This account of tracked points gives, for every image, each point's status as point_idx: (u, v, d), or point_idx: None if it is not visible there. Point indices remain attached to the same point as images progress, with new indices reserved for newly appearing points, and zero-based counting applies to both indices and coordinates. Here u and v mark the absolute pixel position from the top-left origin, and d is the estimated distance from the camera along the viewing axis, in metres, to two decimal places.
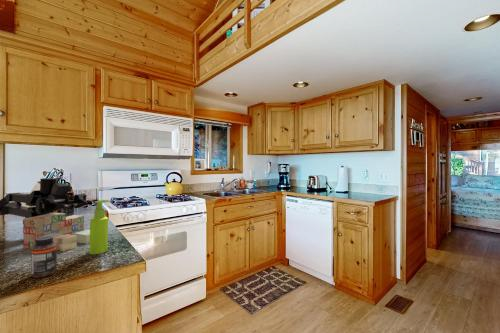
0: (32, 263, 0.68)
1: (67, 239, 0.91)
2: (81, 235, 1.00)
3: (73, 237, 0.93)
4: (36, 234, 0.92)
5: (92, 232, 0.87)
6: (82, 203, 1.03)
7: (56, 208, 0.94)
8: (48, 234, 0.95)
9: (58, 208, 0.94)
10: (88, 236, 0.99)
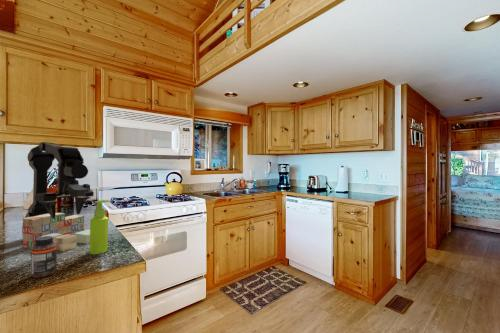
0: (32, 263, 0.68)
1: (67, 239, 0.91)
2: (81, 235, 1.00)
3: (73, 237, 0.93)
4: (34, 234, 0.92)
5: (92, 232, 0.87)
6: (78, 206, 0.97)
7: (48, 210, 0.88)
8: (48, 234, 0.95)
9: (49, 212, 0.88)
10: (88, 236, 0.99)
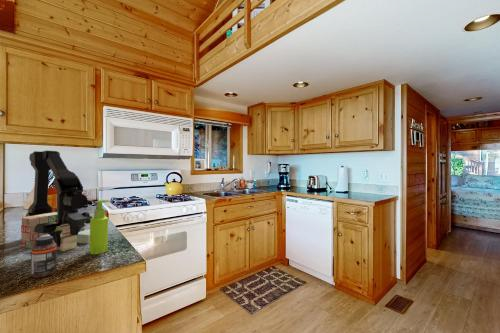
0: (32, 263, 0.68)
1: (67, 239, 0.91)
2: (82, 235, 1.00)
3: (73, 237, 0.93)
4: (31, 233, 0.92)
5: (92, 232, 0.87)
6: None
7: (53, 239, 0.89)
8: (48, 234, 0.95)
9: (54, 241, 0.90)
10: (89, 236, 1.00)
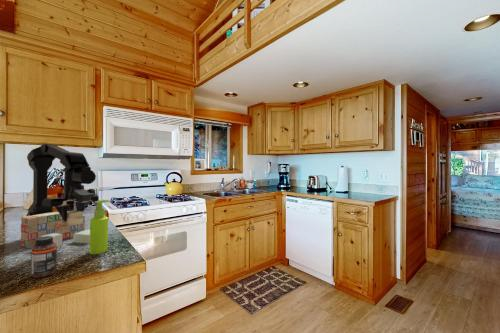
0: (32, 263, 0.68)
1: (73, 214, 0.94)
2: (82, 235, 1.00)
3: (79, 213, 0.96)
4: (29, 233, 0.93)
5: (92, 232, 0.87)
6: None
7: (60, 214, 0.92)
8: (48, 234, 0.95)
9: (61, 216, 0.92)
10: None
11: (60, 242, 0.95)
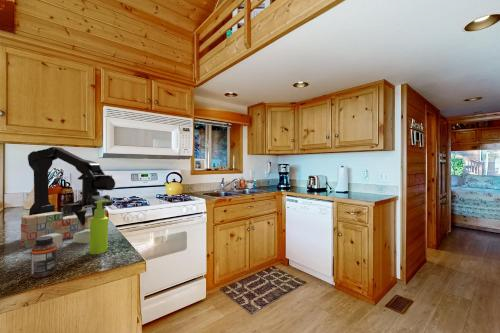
0: (32, 263, 0.68)
1: None
2: (82, 235, 1.00)
3: None
4: (28, 232, 0.93)
5: (92, 232, 0.87)
6: None
7: (79, 218, 1.01)
8: (48, 234, 0.95)
9: (80, 220, 1.01)
10: None
11: (60, 242, 0.95)
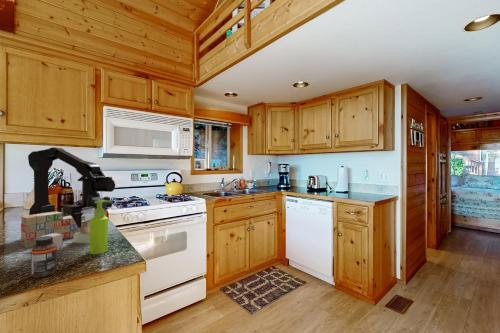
0: (32, 263, 0.68)
1: None
2: (83, 235, 1.00)
3: None
4: (28, 232, 0.94)
5: (92, 232, 0.87)
6: None
7: (75, 221, 0.99)
8: (48, 234, 0.95)
9: (76, 222, 0.99)
10: None
11: (60, 242, 0.95)
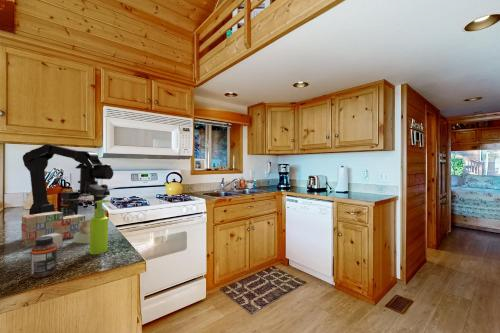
0: (32, 263, 0.68)
1: None
2: (83, 235, 1.00)
3: None
4: (28, 232, 0.94)
5: (92, 232, 0.87)
6: (96, 204, 1.10)
7: (72, 207, 1.00)
8: (48, 234, 0.95)
9: (73, 209, 1.00)
10: None
11: (60, 242, 0.95)
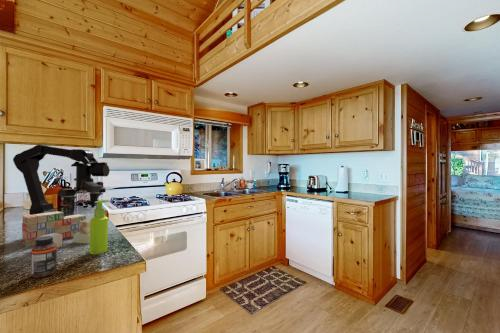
0: (32, 263, 0.68)
1: None
2: (83, 235, 1.00)
3: None
4: (29, 232, 0.94)
5: (92, 232, 0.87)
6: (92, 201, 1.12)
7: (68, 204, 1.03)
8: (48, 234, 0.95)
9: (69, 206, 1.03)
10: None
11: (60, 242, 0.95)
